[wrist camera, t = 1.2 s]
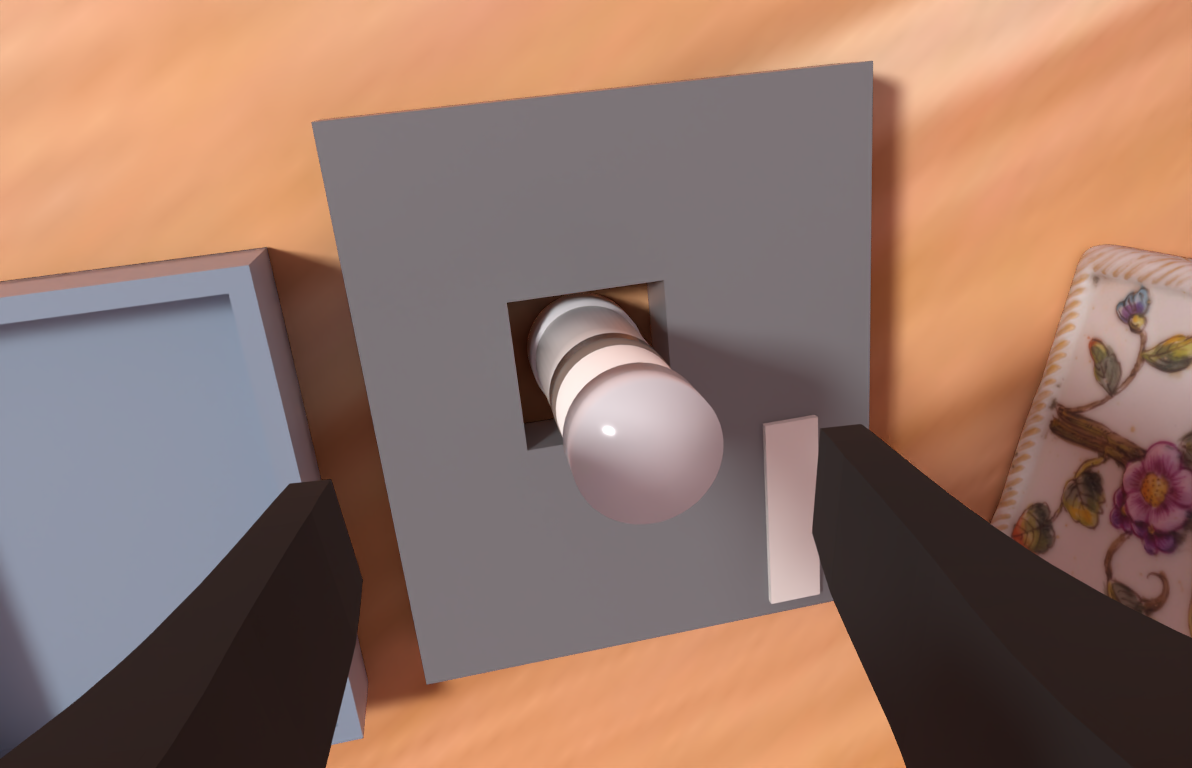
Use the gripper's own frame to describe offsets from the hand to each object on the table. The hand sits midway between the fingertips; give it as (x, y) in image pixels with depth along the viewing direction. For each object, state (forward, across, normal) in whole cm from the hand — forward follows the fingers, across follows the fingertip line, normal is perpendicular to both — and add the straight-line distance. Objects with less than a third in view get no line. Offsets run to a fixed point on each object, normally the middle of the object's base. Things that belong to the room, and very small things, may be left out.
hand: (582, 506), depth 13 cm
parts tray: (+9, +13, +7) cm, 17 cm away
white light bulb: (+12, 0, +4) cm, 12 cm away
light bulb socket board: (+12, -1, +5) cm, 13 cm away
